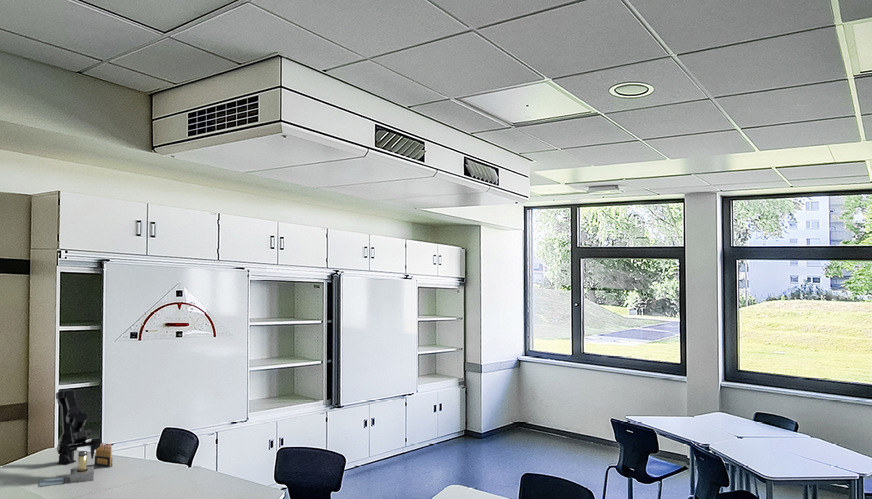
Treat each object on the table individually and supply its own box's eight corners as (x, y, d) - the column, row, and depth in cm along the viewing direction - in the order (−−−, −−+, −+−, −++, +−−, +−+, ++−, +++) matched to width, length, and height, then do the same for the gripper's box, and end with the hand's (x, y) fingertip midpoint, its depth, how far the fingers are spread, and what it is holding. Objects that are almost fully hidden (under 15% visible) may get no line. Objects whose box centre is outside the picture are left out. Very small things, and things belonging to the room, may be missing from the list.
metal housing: (70, 477, 313) (70, 468, 313) (93, 474, 318) (93, 466, 318) (69, 483, 304) (70, 474, 304) (93, 480, 309) (93, 471, 309)
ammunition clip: (112, 466, 331) (113, 443, 331) (109, 467, 329) (110, 444, 330) (97, 464, 335) (97, 441, 335) (94, 465, 333) (95, 442, 333)
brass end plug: (82, 476, 313) (83, 450, 314) (88, 477, 312) (89, 451, 313) (75, 479, 310) (76, 452, 310) (81, 480, 309) (82, 453, 309)
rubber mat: (40, 480, 307) (40, 479, 307) (64, 477, 312) (64, 476, 312) (38, 486, 298) (39, 486, 298) (63, 483, 303) (63, 482, 303)
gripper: (59, 426, 310) (63, 454, 302) (101, 421, 323) (106, 447, 314) (55, 439, 316) (59, 467, 307) (96, 434, 328) (101, 460, 320)
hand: (82, 460), depth 312 cm, fingers open, 9 cm apart
